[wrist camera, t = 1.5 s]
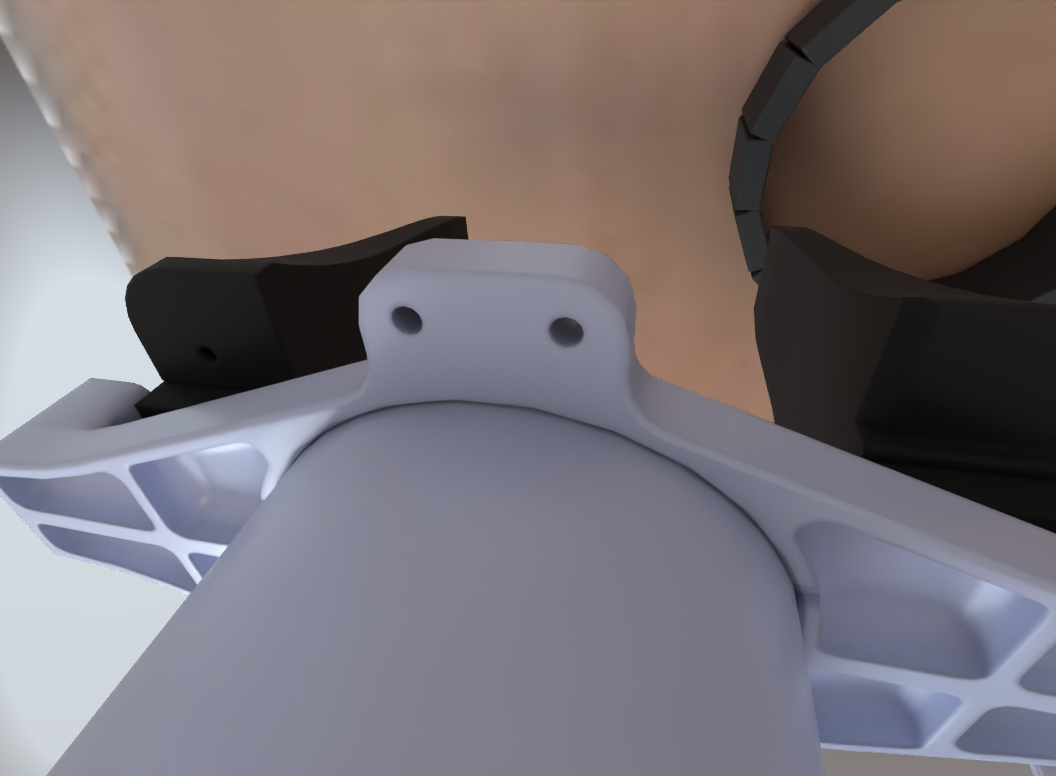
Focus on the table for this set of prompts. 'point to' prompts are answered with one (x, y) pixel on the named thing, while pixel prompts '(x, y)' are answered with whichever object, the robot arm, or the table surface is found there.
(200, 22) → the table surface
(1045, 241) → the ring
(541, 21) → the table surface
